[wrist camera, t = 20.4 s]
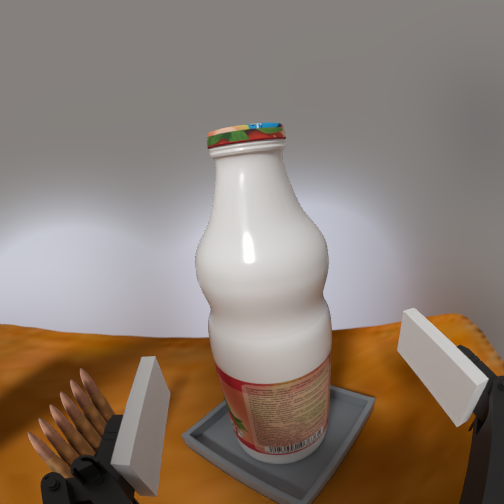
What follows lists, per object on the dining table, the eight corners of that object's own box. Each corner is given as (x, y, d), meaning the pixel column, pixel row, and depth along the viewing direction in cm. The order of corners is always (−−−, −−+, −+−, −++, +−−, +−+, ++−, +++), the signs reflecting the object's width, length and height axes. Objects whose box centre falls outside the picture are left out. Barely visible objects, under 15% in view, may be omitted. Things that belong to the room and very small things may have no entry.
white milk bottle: (305, 478, 21) (283, 110, 12) (219, 447, 25) (138, 144, 16) (339, 410, 28) (335, 122, 19) (263, 391, 33) (225, 136, 24)
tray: (186, 445, 26) (181, 435, 26) (267, 373, 37) (266, 362, 36) (302, 514, 17) (302, 508, 17) (373, 409, 28) (375, 398, 27)
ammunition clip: (124, 438, 27) (78, 361, 23) (137, 441, 27) (92, 363, 23) (88, 506, 17) (16, 436, 13) (102, 512, 17) (29, 444, 13)
